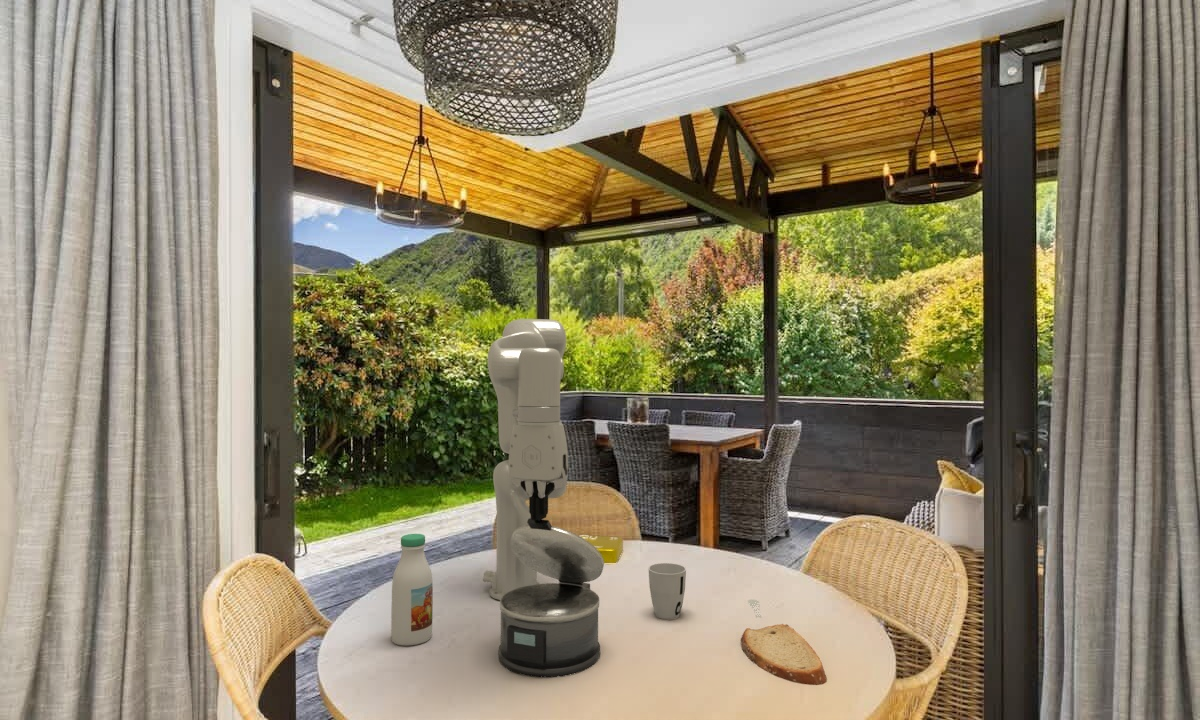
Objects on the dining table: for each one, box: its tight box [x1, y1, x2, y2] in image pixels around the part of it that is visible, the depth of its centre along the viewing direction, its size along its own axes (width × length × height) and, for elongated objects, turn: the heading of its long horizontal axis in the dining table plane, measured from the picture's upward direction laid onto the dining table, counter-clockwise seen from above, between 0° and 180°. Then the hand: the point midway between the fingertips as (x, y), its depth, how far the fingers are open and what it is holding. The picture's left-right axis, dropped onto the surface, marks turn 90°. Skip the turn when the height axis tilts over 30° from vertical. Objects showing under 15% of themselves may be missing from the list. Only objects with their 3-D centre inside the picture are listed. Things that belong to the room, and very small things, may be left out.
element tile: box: [577, 534, 624, 564], centre depth 184 cm, size 15×15×5 cm
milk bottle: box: [390, 533, 434, 647], centre depth 125 cm, size 8×8×20 cm
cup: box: [648, 562, 687, 620], centre depth 138 cm, size 8×8×10 cm
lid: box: [510, 518, 605, 585], centre depth 121 cm, size 18×21×3 cm
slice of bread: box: [740, 623, 828, 686], centre depth 117 cm, size 18×18×4 cm
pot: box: [497, 582, 601, 678], centre depth 119 cm, size 19×22×10 cm
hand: (538, 518), depth 114 cm, fingers closed
